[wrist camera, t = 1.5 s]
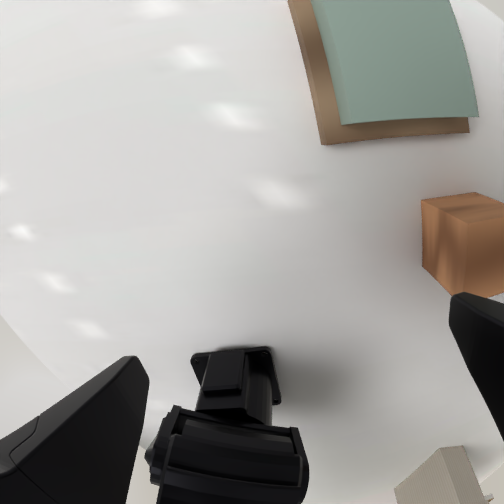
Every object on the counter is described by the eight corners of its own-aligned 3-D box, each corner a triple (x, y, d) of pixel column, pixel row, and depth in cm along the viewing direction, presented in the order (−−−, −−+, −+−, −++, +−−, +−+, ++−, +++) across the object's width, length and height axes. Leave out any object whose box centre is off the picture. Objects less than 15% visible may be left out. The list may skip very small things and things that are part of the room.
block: (473, 254, 20) (517, 287, 14) (422, 266, 21) (461, 305, 15) (474, 192, 18) (525, 212, 13) (420, 199, 19) (467, 223, 13)
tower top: (456, 117, 15) (478, 116, 13) (341, 125, 16) (352, 123, 14) (428, 3, 12) (445, -9, 10) (310, 0, 13) (315, -18, 11)
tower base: (450, 131, 18) (469, 132, 15) (319, 144, 19) (326, 145, 16) (420, 4, 14) (434, -7, 12) (287, 5, 15) (289, -10, 13)
